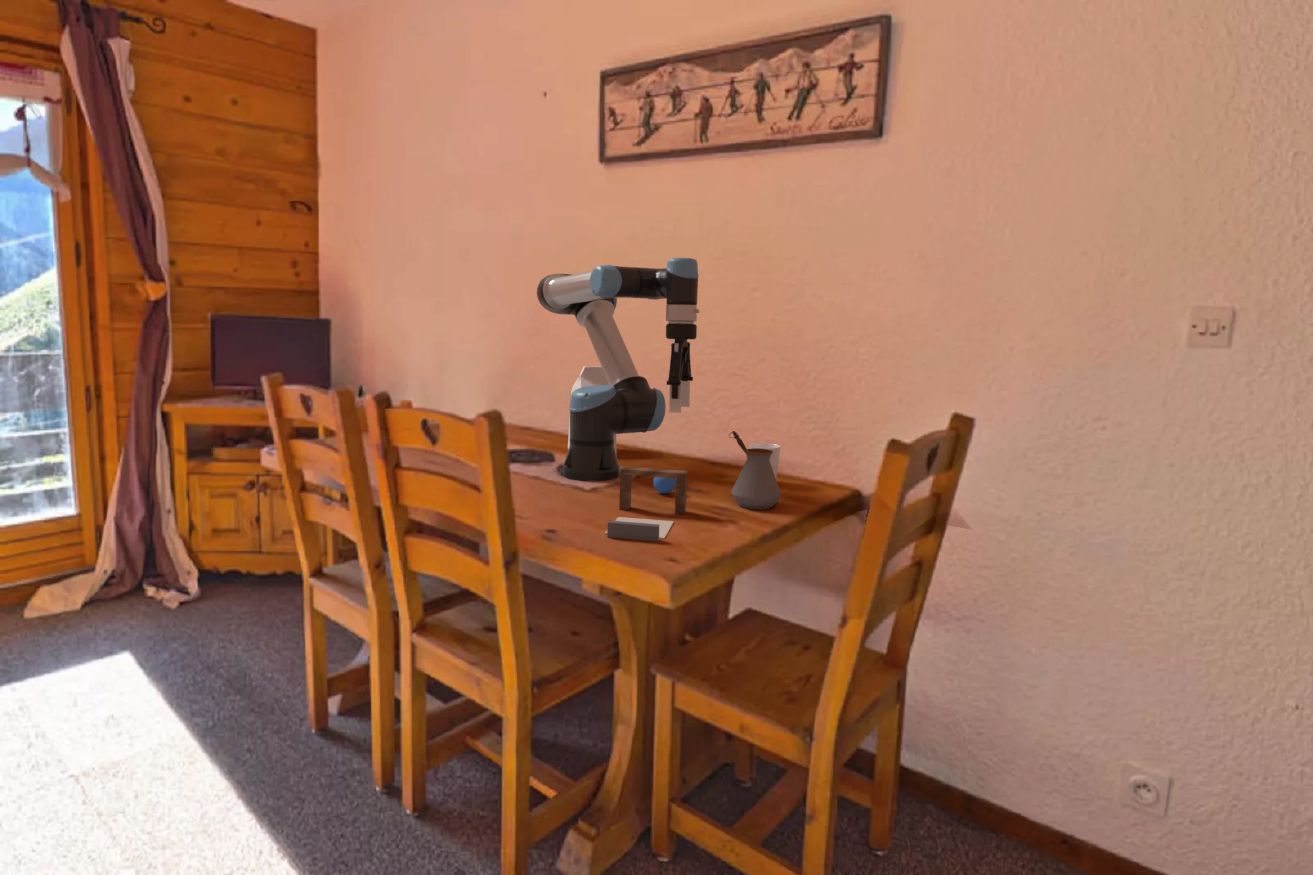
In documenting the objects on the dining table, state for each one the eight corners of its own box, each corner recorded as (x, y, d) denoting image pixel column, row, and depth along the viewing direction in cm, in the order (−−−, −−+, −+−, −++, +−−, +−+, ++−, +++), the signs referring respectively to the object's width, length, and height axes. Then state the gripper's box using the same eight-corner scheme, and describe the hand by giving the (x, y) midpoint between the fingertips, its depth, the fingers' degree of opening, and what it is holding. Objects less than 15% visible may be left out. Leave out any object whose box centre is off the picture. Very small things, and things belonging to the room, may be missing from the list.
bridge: (619, 509, 170) (620, 469, 169) (622, 506, 173) (623, 466, 172) (683, 514, 168) (685, 473, 166) (685, 511, 171) (687, 470, 169)
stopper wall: (607, 537, 150) (607, 522, 150) (609, 535, 152) (609, 520, 151) (657, 541, 148) (658, 526, 148) (658, 539, 150) (659, 524, 149)
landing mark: (604, 533, 152) (604, 532, 152) (618, 517, 164) (618, 516, 164) (664, 539, 150) (664, 538, 150) (673, 522, 162) (673, 521, 162)
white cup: (777, 487, 196) (779, 449, 194) (746, 485, 198) (748, 447, 196) (778, 480, 204) (781, 443, 202) (749, 478, 205) (751, 441, 204)
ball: (651, 495, 184) (651, 472, 183) (655, 489, 189) (655, 468, 188) (673, 496, 183) (674, 474, 182) (677, 491, 188) (678, 469, 187)
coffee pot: (789, 510, 175) (793, 445, 172) (742, 513, 171) (746, 447, 169) (750, 488, 195) (754, 429, 192) (708, 490, 191) (711, 430, 189)
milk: (578, 456, 227) (580, 368, 223) (567, 448, 238) (568, 365, 233) (616, 454, 232) (618, 368, 227) (604, 447, 242) (606, 365, 238)
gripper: (689, 322, 174) (687, 415, 178) (703, 323, 199) (701, 404, 202) (656, 322, 176) (655, 414, 179) (674, 322, 200) (673, 403, 203)
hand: (679, 409), depth 190 cm, fingers open, 13 cm apart
